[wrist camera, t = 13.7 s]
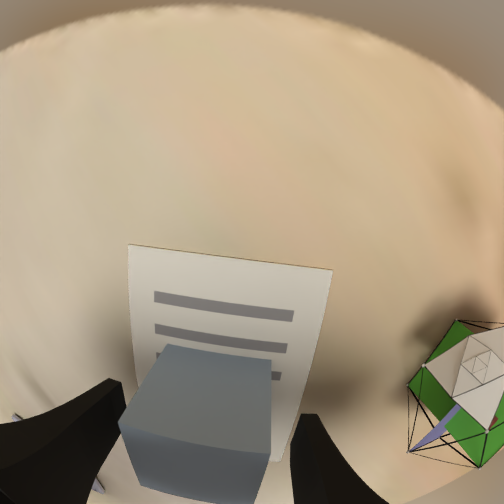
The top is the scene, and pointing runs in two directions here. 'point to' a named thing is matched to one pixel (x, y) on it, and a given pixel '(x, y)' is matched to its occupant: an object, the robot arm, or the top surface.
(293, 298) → the letter
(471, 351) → the geometric puzzle
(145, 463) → the slate cube
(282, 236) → the top surface
